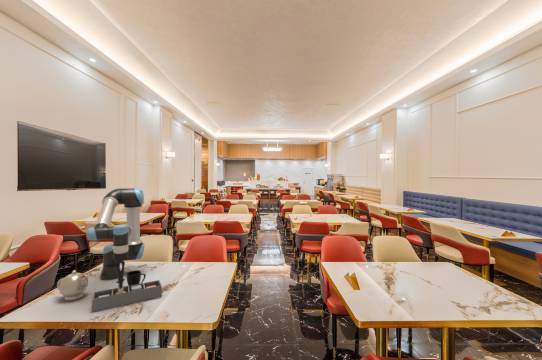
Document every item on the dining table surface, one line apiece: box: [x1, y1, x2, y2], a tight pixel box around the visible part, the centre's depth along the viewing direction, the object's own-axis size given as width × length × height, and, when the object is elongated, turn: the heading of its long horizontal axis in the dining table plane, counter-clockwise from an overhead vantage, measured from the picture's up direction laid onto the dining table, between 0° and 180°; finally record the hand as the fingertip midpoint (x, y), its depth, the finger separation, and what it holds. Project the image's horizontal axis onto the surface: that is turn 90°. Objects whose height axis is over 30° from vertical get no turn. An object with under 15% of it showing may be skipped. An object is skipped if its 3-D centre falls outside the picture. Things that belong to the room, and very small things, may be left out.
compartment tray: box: [91, 279, 163, 313], centre depth 146 cm, size 10×34×7 cm, turn 121°
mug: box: [126, 270, 147, 286], centre depth 164 cm, size 8×12×10 cm
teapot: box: [56, 269, 89, 302], centre depth 149 cm, size 18×14×16 cm
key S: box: [131, 285, 142, 291], centre depth 148 cm, size 5×5×4 cm
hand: (120, 293), depth 143 cm, fingers closed
